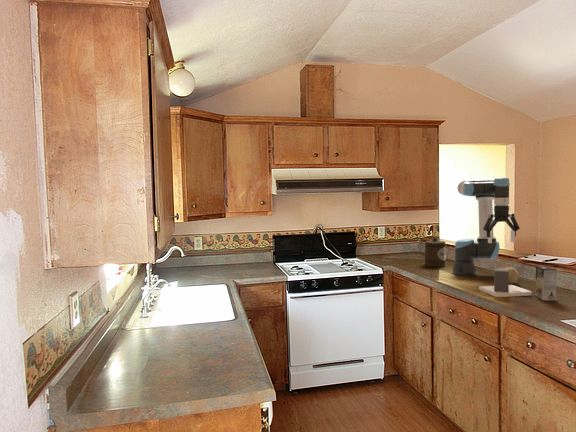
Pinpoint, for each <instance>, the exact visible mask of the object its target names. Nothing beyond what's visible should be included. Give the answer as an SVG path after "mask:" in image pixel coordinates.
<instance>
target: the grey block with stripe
mask: <svg viewBox="0 0 576 432" xmlns="http://www.w3.org/2000/svg"><path fill="white" fill-rule="evenodd" d="M493 274H494V275H493V283H494V284H493V286H494V291H495V292H508V293H509V285H510V284H509V271H508V269H505V268H494V269H493Z"/></svg>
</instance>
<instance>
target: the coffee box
mask: <svg viewBox="0 0 576 432" xmlns="http://www.w3.org/2000/svg"><path fill="white" fill-rule="evenodd" d="M556 291H557V268H554V267H551V266H550V265H540V266H539V265H537V266H535V297H537V298H539V299H541V300H542V301H557V300H556V299H557V297H556V296H557V293H556Z"/></svg>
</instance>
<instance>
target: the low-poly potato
mask: <svg viewBox="0 0 576 432" xmlns="http://www.w3.org/2000/svg"><path fill="white" fill-rule="evenodd" d="M504 269H508V271H509V285H514V283H515V284H516V282H517V281H518V279H519V275H520V274H519V272H518V270H517V269H516V268H515V267H513V266H512V267H511V266H506V267H505V268H504Z"/></svg>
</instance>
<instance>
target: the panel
mask: <svg viewBox="0 0 576 432" xmlns="http://www.w3.org/2000/svg"><path fill="white" fill-rule="evenodd" d="M478 289H479V291H481V292H483V293H486V294H488V295H491V296H492V297H495V298H502V297H503V298H504V297H506V298H507V297H524V296H525V297H526V296H527V297H528V296H533V291H531V290H528V289H525V288H523V287H520V286H517V285H514V284H509V293H508V292H495V291H494V285H483V286H480V285H479V287H478Z"/></svg>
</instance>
